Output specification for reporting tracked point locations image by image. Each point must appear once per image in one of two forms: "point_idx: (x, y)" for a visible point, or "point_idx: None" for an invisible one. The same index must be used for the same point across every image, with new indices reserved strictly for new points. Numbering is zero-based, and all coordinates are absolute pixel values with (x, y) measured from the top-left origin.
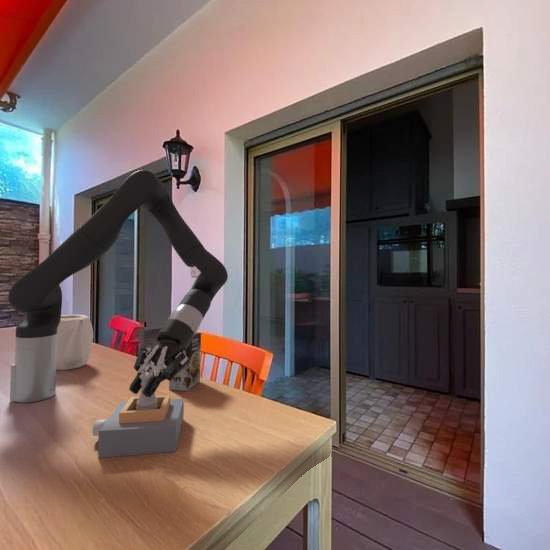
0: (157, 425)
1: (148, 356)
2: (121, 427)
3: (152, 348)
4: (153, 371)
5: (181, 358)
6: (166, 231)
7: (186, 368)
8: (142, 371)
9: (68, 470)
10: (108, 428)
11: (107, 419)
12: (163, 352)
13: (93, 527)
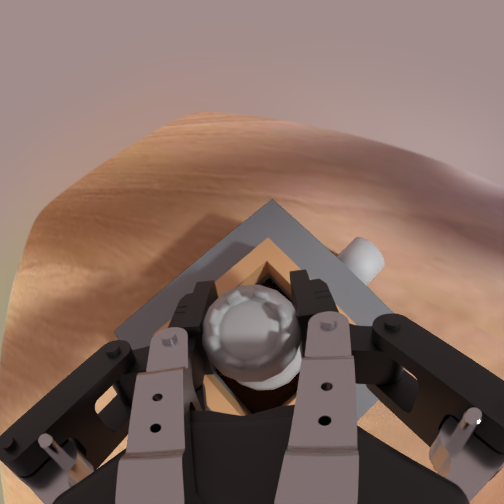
0: (158, 307)
1: (342, 393)
2: (238, 241)
3: (420, 488)
4: (225, 361)
5: (13, 426)
6: None
7: None
8: (280, 308)
9: (279, 184)
10: (264, 218)
11: (356, 269)
12: (152, 457)
13: (129, 163)
